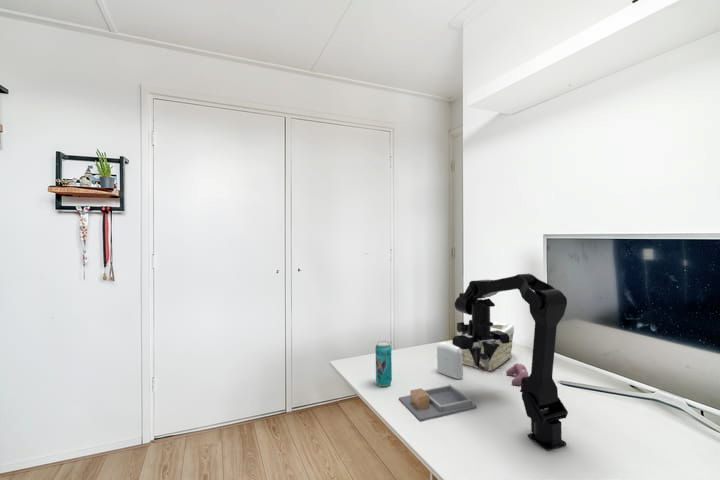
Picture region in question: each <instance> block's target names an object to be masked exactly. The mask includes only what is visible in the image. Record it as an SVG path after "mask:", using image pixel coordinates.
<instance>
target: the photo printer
mask: <svg viewBox="0 0 720 480" xmlns="http://www.w3.org/2000/svg"><path fill="white" fill-rule="evenodd" d="M436 352H437V353H436V357H437V362H436V363H437V372H438V373H439V374H441V375H442V374H443V375H444V376H446V377H451V378H453V379H456V380H461V379H463V377H464V364H463V352H462V349H461V348H459V347H457V346H455V345H453V343H452V342H448V341H442V342H438V344H437V347H436Z"/></svg>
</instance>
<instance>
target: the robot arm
mask: <svg viewBox="0 0 720 480" xmlns="http://www.w3.org/2000/svg"><path fill="white" fill-rule="evenodd" d="M513 290H518V291H519V293H520V295H521V297H522V299H523V300H524V301H525V302H526V303H527V304H528V305H529V306H528V307H529V313H530V316H531V317H532V320H533V322H534V332H533V333H534V334H533V343H532V344H533V346H532V358H531V368H530V369H531V370H530V371H531V372H530V375H528V376H527V377H523V378H522V380H521V384H520V385H521V387H520V390H519V392H520V393H521V399H522V402H523V406H524V409H525V413H526V416H527V418H529V419H530V423H531V424H530V427H531V428H530V432H531V433H530V432H529V433H528V434H527V437H528V438H529V439H531V440H532V441H534V442H535V443H536V444H538V445H540V446H541V447H542V448H544V449H545V450H547V451H550V450H554V449H557V448H560V447H564V446H566V445H567V442H566V441H565V440H563V439H562V421H560V420H563V419H566V418H567V416H568V414H569V412H568V410H567V408H566V407H565V405H564V403H563V402H562V400H561V399H560V397H559V393H558V387H557V385H556V383H555V380H554V379H553V371H554V359H555V349H556V338H557V337H556V336H557V327H558V325H559V322H560V321H561V320H562V318H563V317H564V316H565V314H566V309H567V306H568V305H567V304H568V299H567V296H566V295H565V294H564V293H563V292H562V291H561V290H559V289H556V288H555V287H553V286H552V285H551V284H549V283H547V282H545V281H542V280H541V279H539V278H537V277H536V276H535V275H534V274H531V273H520V274H519V273H518V274H516V275H513V276H509V277H508V276H507V277H503V278H499V279H479V280H471V281H469V283H468V286H467V288H466V290H465V291H464V292H460V293H458V294H459V296H458V297H457V298H456V300H455V302H454V307H455V310H456V311H457V312H460V313H464V314H466V315H469V316H471V319H469V321H468V323H467V324H466V323H465V322H463V321H462V322H456V332H457V331H458V332H462V335H459V336H457V335H454V336H453V337H452V339H451V340H452V342H451V343H453V345H455V346H457V347H459V348H461V349H464V350H465V349H469V351H470V352H471V355H472V357H473V360H474V363H475V365H476V366H477V367H478V366H479V362H480V355H481V348H480V347H478V343H480V342H482V344H483V347H484V354H485V355H487V356H488V357H489V361H490V359H491V357H492V356H493V354H494V352H495V351H496V349H497V348H498V347H500V345H499V344H497V341H496V340H500V342H501V343H503V344H504V343H510V337H509V335H508V334H507V333H504V332H501V330H500V329H496V330H491V331H490V326H493V322H490V321H491V307H495V306H496V304H495V302H494V301H493V300H491V298H490V297H493V296H495V295H497V294H498V293H500V292H507V291H513ZM467 333H468V335H469V336H472V337H471V338H469V337H467V336H464V334H467Z"/></svg>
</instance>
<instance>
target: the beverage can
mask: <svg viewBox="0 0 720 480" xmlns="http://www.w3.org/2000/svg"><path fill="white" fill-rule="evenodd" d="M375 343H376V344H375V345H376V346H375V381H376V383H377V385H378V386H379V385H380V386H379V387H381V386H388V385H389V386H390V385H391V384H392V381H393V380H392V379H393V377H392V376H393V375H392V374H393V372H392V371H393V370H392V346H391V342H389V341H385V340H382V341H381V340H380V341H377V342H375ZM389 386H388V387H389Z"/></svg>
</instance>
